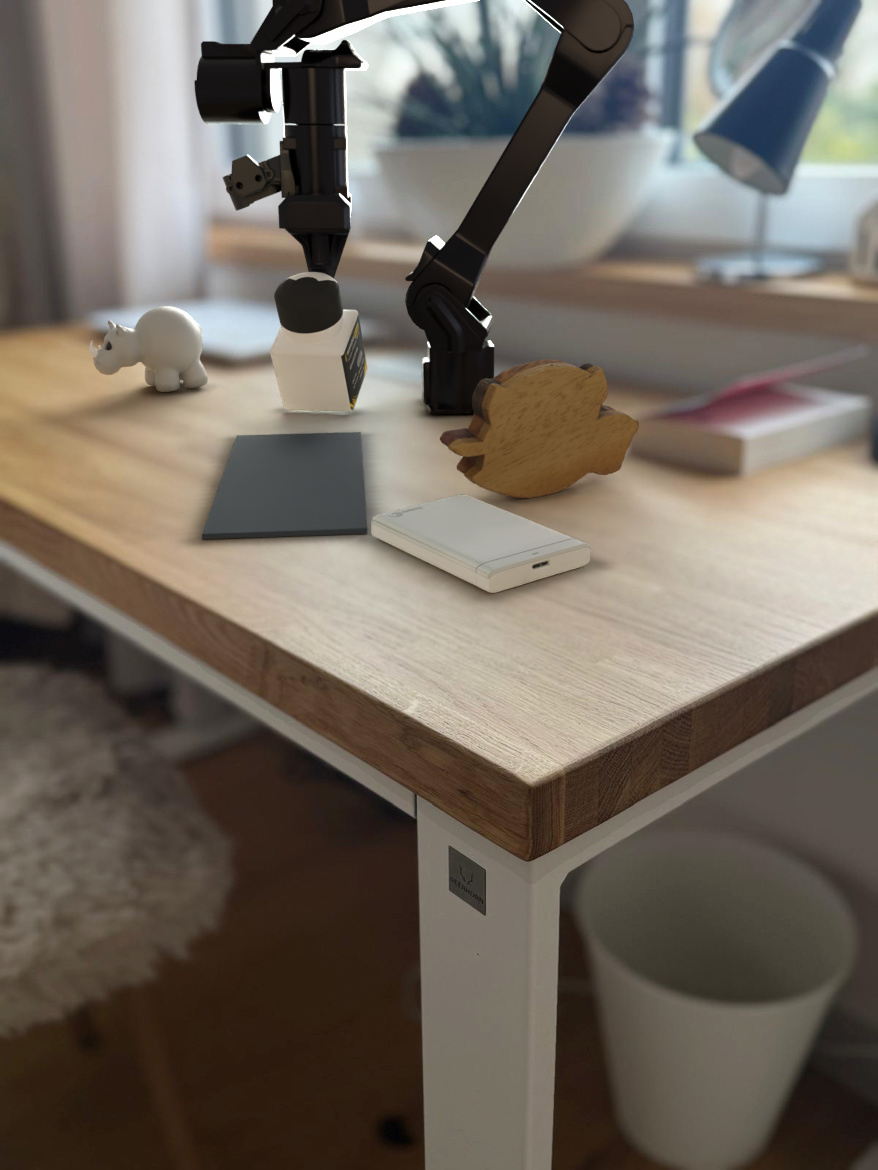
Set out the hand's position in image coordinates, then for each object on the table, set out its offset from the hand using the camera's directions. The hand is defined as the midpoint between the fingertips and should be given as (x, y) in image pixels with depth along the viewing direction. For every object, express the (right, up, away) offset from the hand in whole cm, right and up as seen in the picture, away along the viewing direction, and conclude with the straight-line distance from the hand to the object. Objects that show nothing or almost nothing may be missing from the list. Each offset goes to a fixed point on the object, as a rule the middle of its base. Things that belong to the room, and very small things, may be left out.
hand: (321, 300), depth 104 cm
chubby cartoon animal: (-19, -7, +11) cm, 23 cm away
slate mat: (0, -19, -20) cm, 28 cm away
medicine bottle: (0, -8, +3) cm, 9 cm away
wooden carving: (+19, -21, -23) cm, 36 cm away
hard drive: (+14, -26, -35) cm, 45 cm away
